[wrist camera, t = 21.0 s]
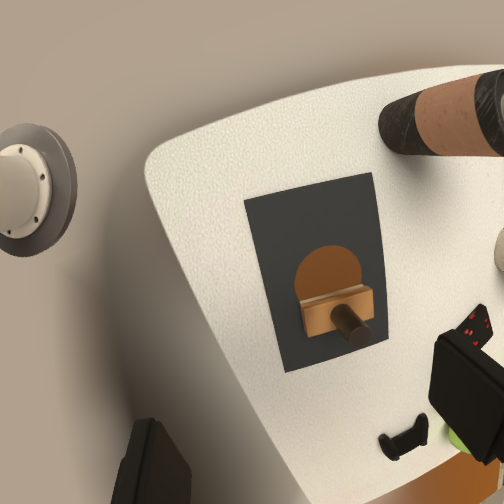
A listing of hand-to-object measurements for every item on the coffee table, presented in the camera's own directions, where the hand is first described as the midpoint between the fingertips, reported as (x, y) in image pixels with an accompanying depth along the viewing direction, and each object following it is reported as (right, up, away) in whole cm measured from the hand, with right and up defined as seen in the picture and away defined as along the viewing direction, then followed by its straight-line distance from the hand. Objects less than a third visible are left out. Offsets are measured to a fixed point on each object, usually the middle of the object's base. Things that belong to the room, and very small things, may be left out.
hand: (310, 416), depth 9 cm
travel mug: (+17, +21, +26) cm, 38 cm away
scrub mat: (+8, +2, +30) cm, 31 cm away
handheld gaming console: (+37, -11, +36) cm, 52 cm away
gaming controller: (+28, -31, +40) cm, 58 cm away
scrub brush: (+9, -2, +30) cm, 31 cm away
